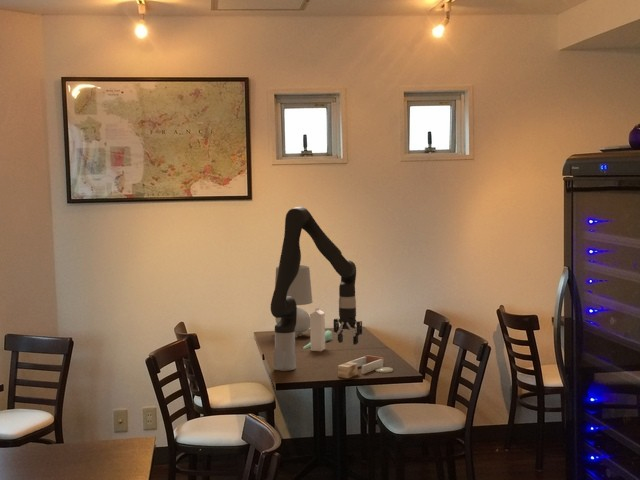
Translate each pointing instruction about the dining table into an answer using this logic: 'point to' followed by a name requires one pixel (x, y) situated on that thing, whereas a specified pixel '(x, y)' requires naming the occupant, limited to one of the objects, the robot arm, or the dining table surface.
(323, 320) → the milk
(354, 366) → the block
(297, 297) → the table lamp
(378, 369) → the coaster
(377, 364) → the channel
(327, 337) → the long green cone
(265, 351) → the dining table surface
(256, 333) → the dining table surface
